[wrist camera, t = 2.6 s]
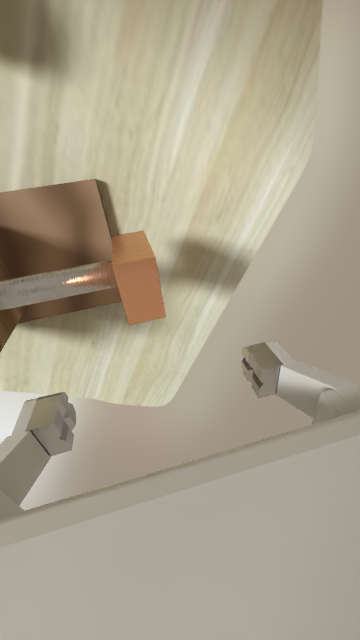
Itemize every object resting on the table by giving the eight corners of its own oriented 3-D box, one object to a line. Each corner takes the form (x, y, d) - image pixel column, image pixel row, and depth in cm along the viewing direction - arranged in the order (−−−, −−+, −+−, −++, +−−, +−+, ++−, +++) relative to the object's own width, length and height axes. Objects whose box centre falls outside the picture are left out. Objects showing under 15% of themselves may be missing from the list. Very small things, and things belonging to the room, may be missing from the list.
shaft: (-96, 328, 23) (-177, 393, 17) (-140, 280, 20) (-259, 336, 14) (152, 278, 26) (165, 316, 20) (143, 230, 23) (155, 256, 17)
